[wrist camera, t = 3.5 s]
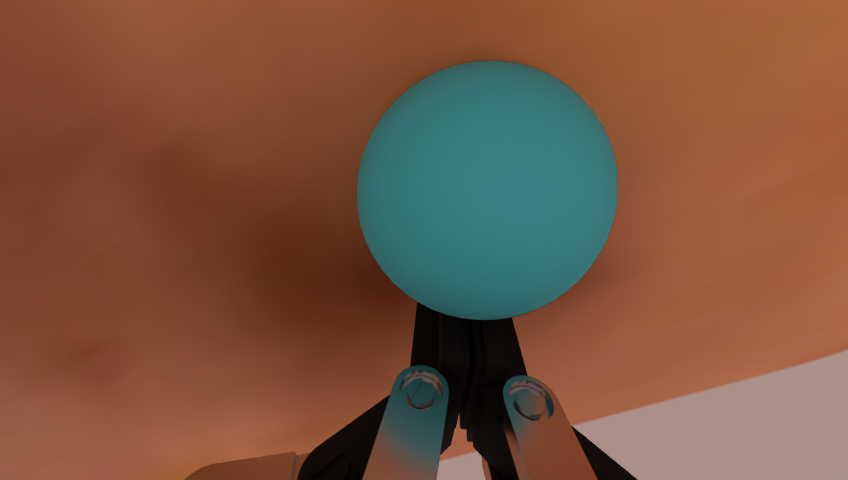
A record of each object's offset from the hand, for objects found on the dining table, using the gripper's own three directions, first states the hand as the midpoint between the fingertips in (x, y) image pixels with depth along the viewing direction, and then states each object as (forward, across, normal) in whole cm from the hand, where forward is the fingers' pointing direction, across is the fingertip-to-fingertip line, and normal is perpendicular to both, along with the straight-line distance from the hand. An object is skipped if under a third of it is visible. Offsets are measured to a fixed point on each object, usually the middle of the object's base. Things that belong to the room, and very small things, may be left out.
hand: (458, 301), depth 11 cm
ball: (-1, 0, -5) cm, 5 cm away
